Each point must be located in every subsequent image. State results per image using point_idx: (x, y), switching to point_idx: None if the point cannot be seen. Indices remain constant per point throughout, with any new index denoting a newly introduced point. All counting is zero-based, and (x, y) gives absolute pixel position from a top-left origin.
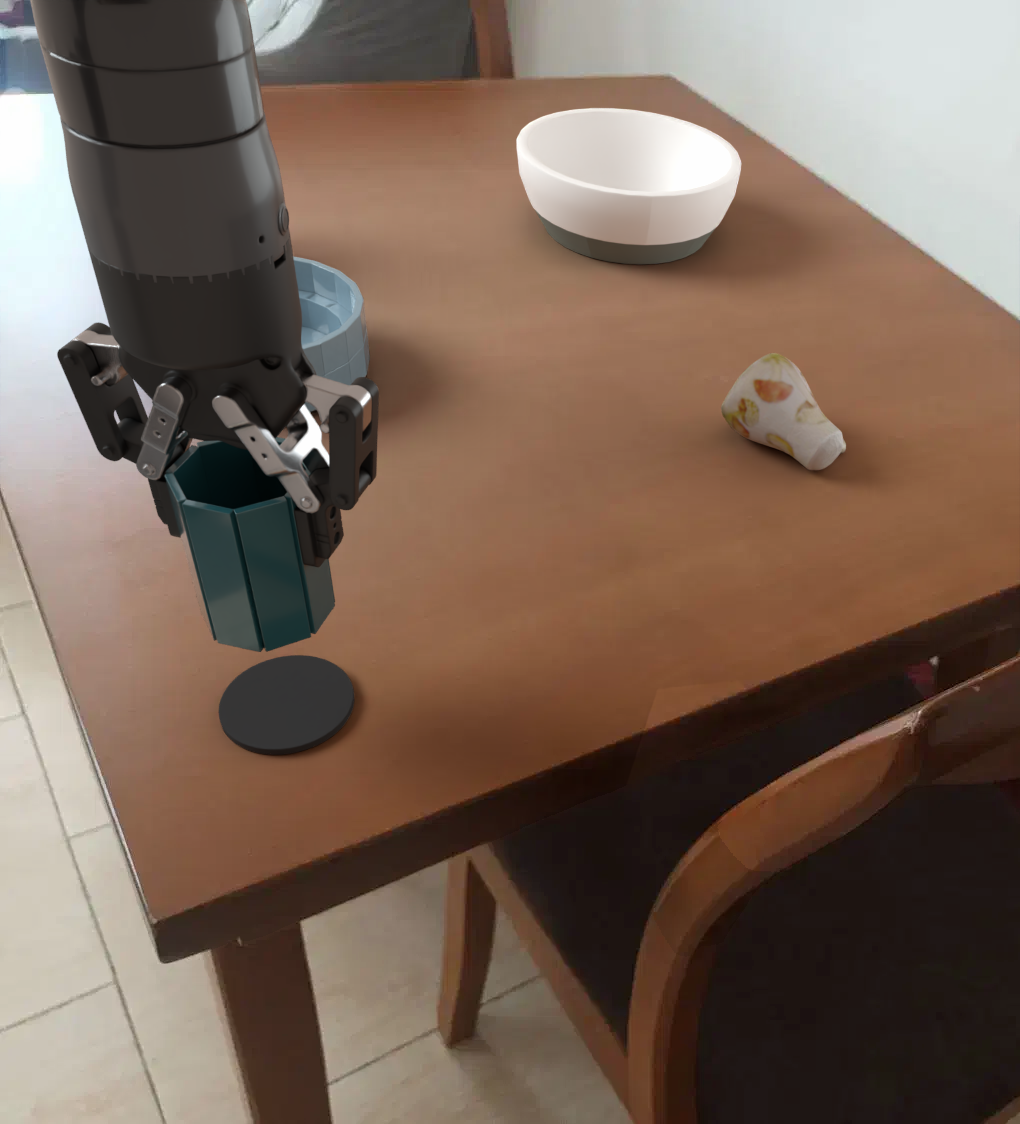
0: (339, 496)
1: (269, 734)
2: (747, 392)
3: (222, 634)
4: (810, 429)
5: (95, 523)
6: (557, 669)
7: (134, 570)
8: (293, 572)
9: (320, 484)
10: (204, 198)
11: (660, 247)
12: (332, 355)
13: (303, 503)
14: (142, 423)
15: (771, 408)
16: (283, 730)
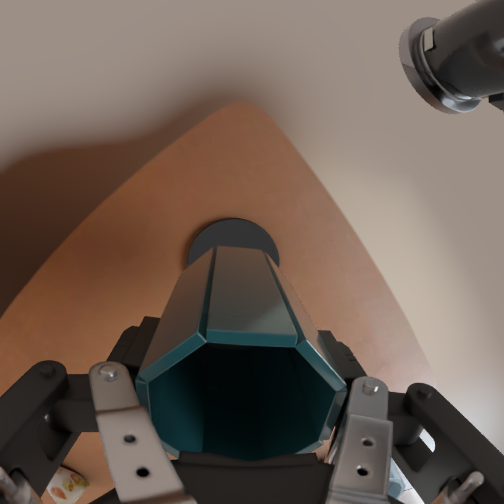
0: (45, 375)
1: (233, 232)
2: (68, 493)
3: (254, 252)
4: None
5: (396, 374)
6: (81, 321)
7: (369, 350)
8: (169, 305)
9: (84, 399)
10: None
11: None
12: None
13: (108, 369)
14: (394, 444)
15: (56, 484)
16: (225, 237)
